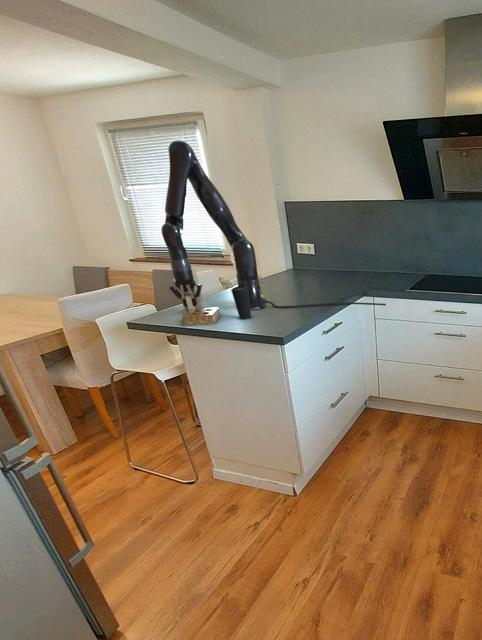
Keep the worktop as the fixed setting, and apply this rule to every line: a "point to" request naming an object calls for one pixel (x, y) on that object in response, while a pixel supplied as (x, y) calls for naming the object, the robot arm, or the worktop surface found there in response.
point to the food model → (199, 298)
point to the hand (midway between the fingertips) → (191, 306)
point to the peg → (189, 302)
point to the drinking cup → (242, 300)
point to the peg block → (201, 316)
